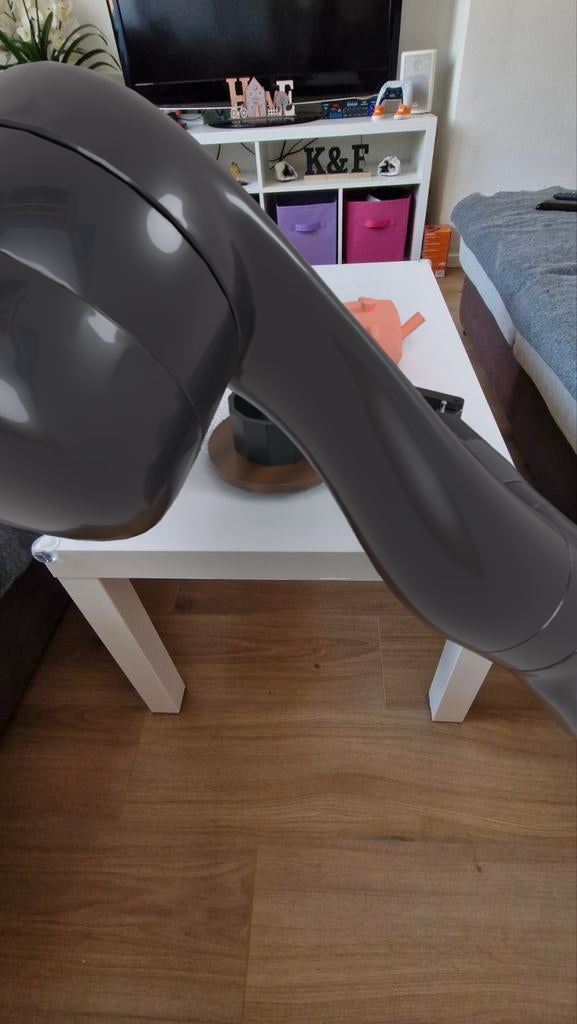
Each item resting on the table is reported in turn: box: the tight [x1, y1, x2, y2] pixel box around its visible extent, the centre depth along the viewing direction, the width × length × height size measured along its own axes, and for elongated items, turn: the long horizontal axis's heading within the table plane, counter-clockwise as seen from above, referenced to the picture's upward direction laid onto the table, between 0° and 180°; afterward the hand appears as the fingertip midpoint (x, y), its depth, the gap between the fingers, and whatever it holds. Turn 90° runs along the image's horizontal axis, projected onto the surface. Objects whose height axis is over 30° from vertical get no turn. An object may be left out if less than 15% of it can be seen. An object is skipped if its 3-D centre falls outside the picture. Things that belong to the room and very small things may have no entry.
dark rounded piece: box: [207, 391, 323, 494], centre depth 59 cm, size 18×18×15 cm
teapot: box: [342, 296, 427, 366], centre depth 76 cm, size 14×12×10 cm
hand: (360, 381), depth 51 cm, fingers closed
